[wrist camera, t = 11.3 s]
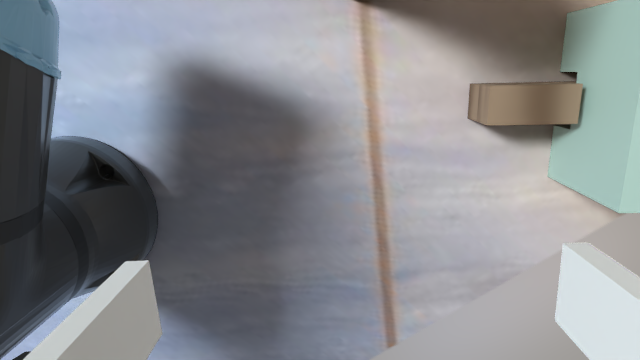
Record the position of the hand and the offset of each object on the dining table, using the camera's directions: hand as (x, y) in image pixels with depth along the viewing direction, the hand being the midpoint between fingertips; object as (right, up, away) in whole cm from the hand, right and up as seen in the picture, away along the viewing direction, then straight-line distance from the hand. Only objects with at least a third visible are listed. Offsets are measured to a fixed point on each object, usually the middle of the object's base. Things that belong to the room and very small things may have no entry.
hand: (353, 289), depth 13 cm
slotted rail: (+21, +11, +23) cm, 33 cm away
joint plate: (+21, +11, +23) cm, 33 cm away
